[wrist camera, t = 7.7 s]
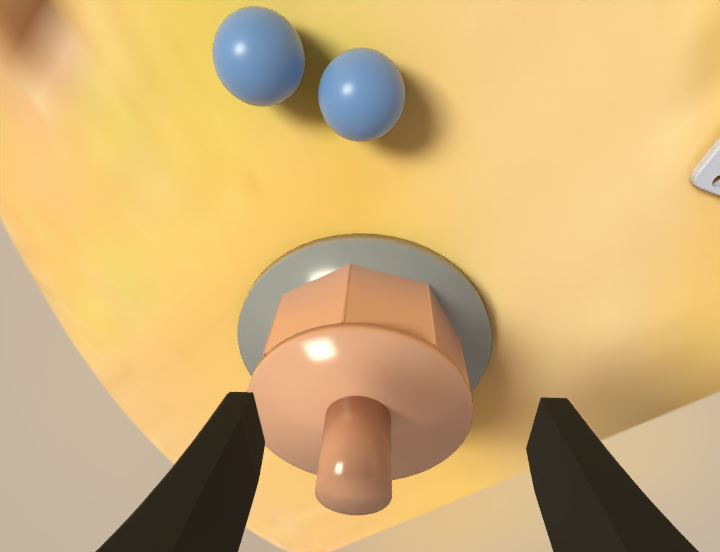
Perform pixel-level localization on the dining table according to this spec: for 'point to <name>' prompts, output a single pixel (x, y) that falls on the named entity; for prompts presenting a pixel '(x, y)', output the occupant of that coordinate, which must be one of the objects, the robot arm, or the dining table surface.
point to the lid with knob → (362, 385)
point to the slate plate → (376, 255)
